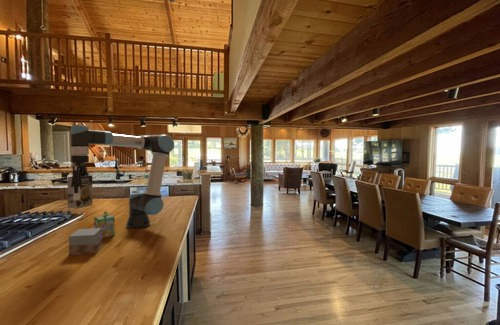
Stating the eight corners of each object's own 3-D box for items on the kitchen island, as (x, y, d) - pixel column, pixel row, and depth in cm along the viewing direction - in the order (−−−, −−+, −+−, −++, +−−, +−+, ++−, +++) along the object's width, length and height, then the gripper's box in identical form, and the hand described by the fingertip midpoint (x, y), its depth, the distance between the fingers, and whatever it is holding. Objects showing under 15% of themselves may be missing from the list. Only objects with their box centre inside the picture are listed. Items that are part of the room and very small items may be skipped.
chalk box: (93, 235, 146) (93, 211, 145) (110, 232, 153) (110, 209, 152) (97, 239, 140) (97, 214, 139) (115, 235, 146) (115, 212, 146)
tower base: (102, 245, 133) (102, 236, 133) (97, 253, 122) (97, 244, 122) (77, 247, 129) (77, 238, 129) (68, 256, 118) (68, 246, 117)
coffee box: (77, 209, 119) (77, 177, 119) (67, 208, 121) (66, 176, 120) (93, 205, 128) (92, 175, 127) (83, 204, 130) (83, 174, 129)
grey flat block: (101, 237, 131) (101, 228, 131) (94, 244, 121) (94, 234, 121) (78, 238, 129) (78, 229, 128) (68, 246, 118) (68, 236, 118)
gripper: (79, 154, 133) (79, 193, 134) (62, 155, 111) (63, 202, 112) (94, 154, 135) (95, 193, 136) (81, 155, 114) (81, 201, 115)
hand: (80, 197), depth 124 cm, fingers closed on coffee box, 10 cm apart
